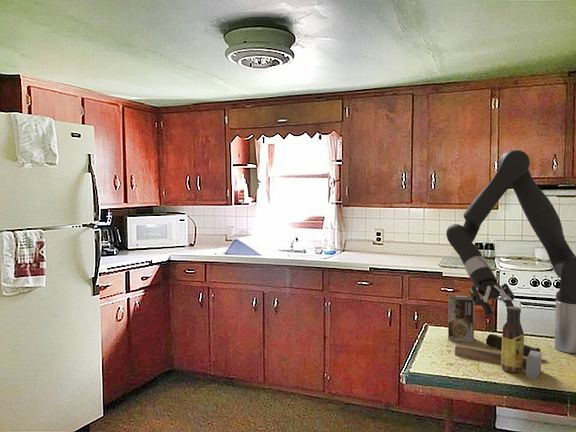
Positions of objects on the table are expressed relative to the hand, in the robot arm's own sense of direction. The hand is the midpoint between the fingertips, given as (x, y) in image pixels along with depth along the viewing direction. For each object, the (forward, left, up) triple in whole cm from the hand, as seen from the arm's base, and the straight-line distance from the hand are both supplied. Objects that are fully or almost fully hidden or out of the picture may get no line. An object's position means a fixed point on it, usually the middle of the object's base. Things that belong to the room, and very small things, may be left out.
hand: (502, 313), depth 157 cm
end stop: (+3, +10, -17) cm, 20 cm away
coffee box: (-19, -18, -17) cm, 31 cm away
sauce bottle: (+3, +4, -17) cm, 18 cm away
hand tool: (-14, 0, -17) cm, 22 cm away
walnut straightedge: (-2, -3, -17) cm, 17 cm away
